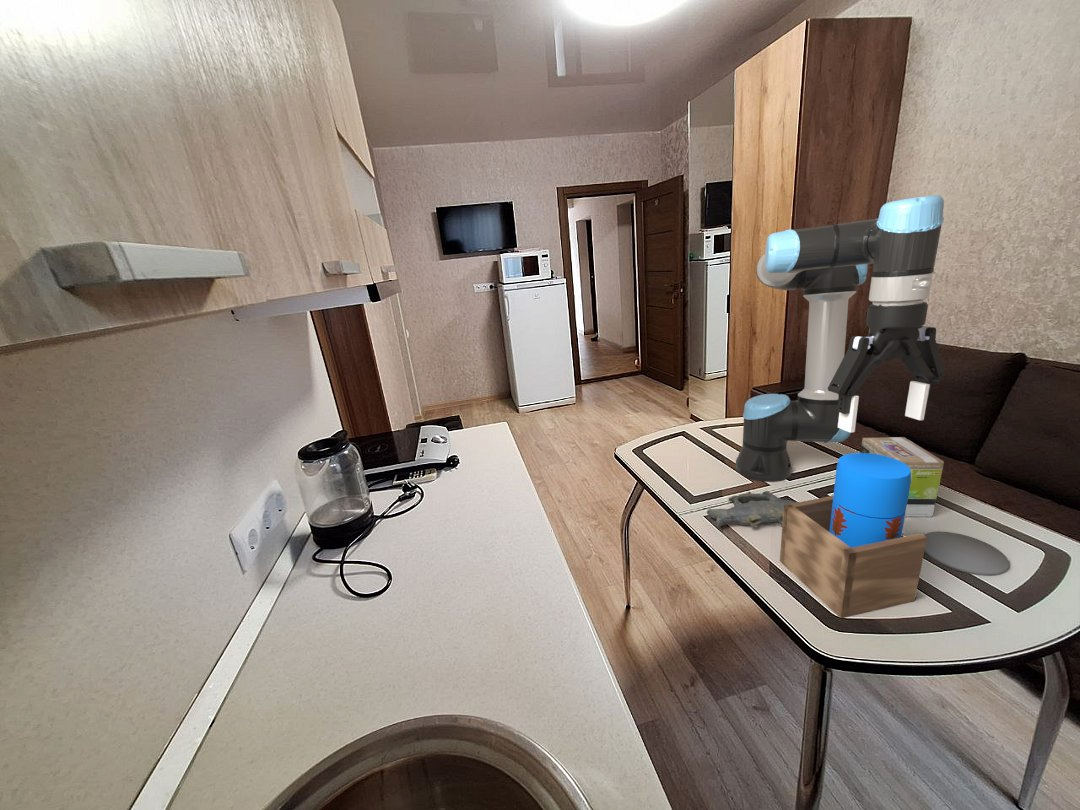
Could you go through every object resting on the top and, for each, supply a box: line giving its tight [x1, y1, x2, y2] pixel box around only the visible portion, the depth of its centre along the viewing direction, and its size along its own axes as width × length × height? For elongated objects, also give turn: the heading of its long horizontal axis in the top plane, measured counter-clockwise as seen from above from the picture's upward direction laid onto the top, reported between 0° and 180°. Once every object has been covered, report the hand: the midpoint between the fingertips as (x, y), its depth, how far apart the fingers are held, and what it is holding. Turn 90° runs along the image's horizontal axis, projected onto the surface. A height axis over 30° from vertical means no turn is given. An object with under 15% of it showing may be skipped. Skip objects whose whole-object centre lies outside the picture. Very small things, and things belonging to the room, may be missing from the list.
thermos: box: [829, 452, 911, 548], centre depth 80 cm, size 11×11×25 cm
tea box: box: [860, 436, 945, 518], centre depth 104 cm, size 15×10×15 cm, turn 169°
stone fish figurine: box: [706, 490, 799, 528], centre depth 107 cm, size 5×25×15 cm
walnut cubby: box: [779, 495, 927, 619], centre depth 81 cm, size 16×15×14 cm
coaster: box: [923, 531, 1010, 577], centre depth 86 cm, size 13×13×1 cm
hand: (880, 423), depth 74 cm, fingers open, 13 cm apart
